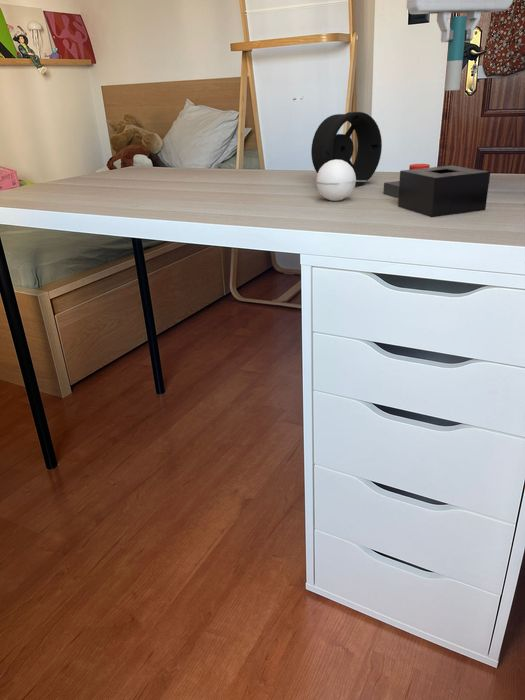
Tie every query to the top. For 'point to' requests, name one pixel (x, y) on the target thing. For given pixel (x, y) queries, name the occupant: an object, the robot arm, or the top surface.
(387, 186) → the block
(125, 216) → the top surface
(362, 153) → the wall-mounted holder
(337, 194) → the seamed sphere
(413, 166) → the power button
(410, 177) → the black block with hole
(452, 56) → the teal and grey cylinder
